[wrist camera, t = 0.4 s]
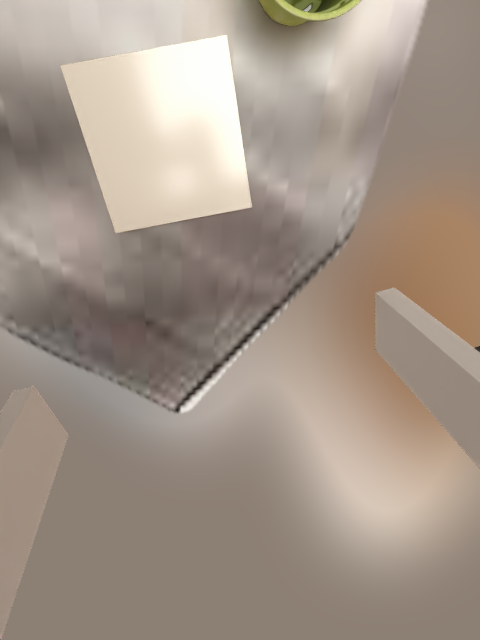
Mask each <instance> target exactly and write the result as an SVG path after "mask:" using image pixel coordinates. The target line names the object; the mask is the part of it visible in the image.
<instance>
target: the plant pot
mask: <svg viewBox="0 0 480 640" xmlns="http://www.w3.org/2000/svg"><path fill="white" fill-rule="evenodd" d="M259 1H260V3H261V5H262V7H263V9H264V11H265V12H266V13H267V14H268V16H269V17H270V18H271V19H273V20H274V21H276V22H278V23H280V24H283V25H288V26H296V25H300V24H302V23H304V22H306V21H308V20H309V21H325V20H330V19H333V18H336V17H338V16H341V15H343V14H344V13H346V12H348V11H349V10H351V9H352V8H354V7H355V6H356V5H357V4H358V3H360V2H361V1H362V0H259ZM311 3H312V8H311V9H310V10H309V11H308V12H305V11H302V10H303V9H305V8H306V7H307V6H309V5H310V4H311Z"/></svg>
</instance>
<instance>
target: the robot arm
mask: <svg viewBox="0 0 480 640" xmlns="http://www.w3.org/2000/svg"><path fill="white" fill-rule="evenodd" d="M375 341H376V343H375V344H376V346H375V348H376V349H375V350H376V351H377V352H378V353H379V354H380V355H381V357H382V358H383V359H384V360H385V361H386V362H387V364H388V365H389V366H390V367H391V368H392V369H393V370H394V371H395V373H396V374H397V375H398V376H399V377H400V378H401V380H402V381H403V382H404V383H405V384H406V385H407V386H408V388H409V389H410V390H411V391H412V392H413V393H414V394H415V396H416V397H417V398H418V399H419V400H420V401H421V402H422V403H423V404H424V406H425V407H426V408H427V409H428V410H429V411H430V413H431V414H432V415H433V416H434V417H435V418H436V419H437V421H438V422H439V423H440V424H441V425H442V426H443V427H444V429H445V430H446V431H447V432H448V433H449V434H450V435H451V437H452V438H453V439H454V440H455V441H456V442H457V443H458V445H459V446H460V447H461V448H462V449H463V450H464V451H465V452H466V454H467V455H468V456H469V457H470V458H471V459H472V460H473V461H474V463H475V464H476V465H477V466H478V467H479V468H480V346H479V347H475V348H473V347H472V346H471V345H469V344H468V343H466V342H465V341H464V340H463V339H461V338H460V337H459V336H457V335H456V334H455V333H454V332H452V331H451V330H449V329H448V328H447V327H445V326H444V325H443V324H442V323H440V322H439V321H438V320H436V319H435V318H434V317H433V316H431V315H430V314H428V313H427V312H426V311H424V310H423V309H422V308H421V307H419V306H418V305H416V304H415V303H414V302H413V301H411V300H410V299H409V298H408V297H406V296H405V295H404V294H402V293H401V292H400V291H398V290H397V289H395V288H391V289H387V290H384V291H380V292H376V293H375ZM67 438H68V434H67V432H66V431H65V430H64V428H63V427H62V425H61V424H60V423H59V421H58V420H57V418H56V417H55V415H54V414H53V413H52V411H51V410H50V408H49V407H48V406H47V404H46V403H45V401H44V400H43V398H42V397H41V396H40V394H39V393H38V391H37V390H36V389H35V387H34V386H30V387H27V388H23V389H19V390H16V391H13V392H12V394H11V395H10V397H9V399H8V401H7V402H6V404H5V406H4V407H3V409H2V411H1V412H0V640H1V638H2V635H3V632H4V629H5V626H6V623H7V620H8V616H9V614H10V611H11V608H12V605H13V602H14V599H15V596H16V593H17V590H18V587H19V583H20V580H21V577H22V575H23V571H24V568H25V565H26V562H27V559H28V556H29V553H30V550H31V547H32V544H33V541H34V538H35V535H36V532H37V529H38V526H39V523H40V520H41V517H42V514H43V511H44V508H45V505H46V501H47V498H48V496H49V493H50V490H51V487H52V484H53V481H54V478H55V474H56V471H57V468H58V465H59V462H60V459H61V456H62V453H63V450H64V447H65V444H66V441H67Z"/></svg>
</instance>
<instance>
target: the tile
mask: <svg viewBox="0 0 480 640" xmlns="http://www.w3.org/2000/svg"><path fill="white" fill-rule="evenodd" d="M60 66H61V69H62V72H63V75H64V78H65V81H66V84H67V88H68V91H69V94H70V97H71V100H72V103H73V106H74V109H75V112H76V115H77V118H78V121H79V124H80V127H81V130H82V133H83V136H84V139H85V142H86V145H87V148H88V151H89V154H90V157H91V160H92V163H93V166H94V169H95V172H96V175H97V178H98V181H99V184H100V187H101V190H102V193H103V196H104V199H105V203H106V206H107V209H108V212H109V215H110V218H111V221H112V224H113V227H114V230H115V233H120V232H125V231H130V230H135V229H141V228H146V227H151V226H156V225H162V224H167V223H172V222H177V221H183V220H188V219H193V218H198V217H204V216H209V215H214V214H219V213H225V212H230V211H235V210H240V209H246V208H251V207H252V205H251V198H250V191H249V184H248V177H247V170H246V163H245V156H244V149H243V143H242V136H241V129H240V122H239V115H238V108H237V101H236V94H235V87H234V81H233V74H232V67H231V60H230V53H229V46H228V39H227V35H223V36H218V37H213V38H207V39H202V40H196V41H191V42H185V43H180V44H174V45H169V46H163V47H158V48H153V49H147V50H142V51H136V52H131V53H125V54H120V55H114V56H109V57H103V58H98V59H92V60H87V61H82V62H76V63H71V64H65V65H60Z"/></svg>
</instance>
